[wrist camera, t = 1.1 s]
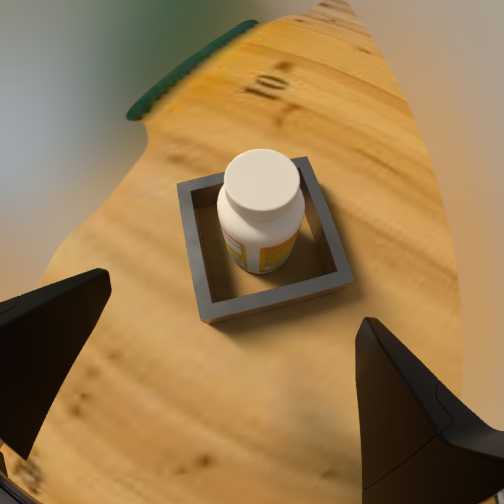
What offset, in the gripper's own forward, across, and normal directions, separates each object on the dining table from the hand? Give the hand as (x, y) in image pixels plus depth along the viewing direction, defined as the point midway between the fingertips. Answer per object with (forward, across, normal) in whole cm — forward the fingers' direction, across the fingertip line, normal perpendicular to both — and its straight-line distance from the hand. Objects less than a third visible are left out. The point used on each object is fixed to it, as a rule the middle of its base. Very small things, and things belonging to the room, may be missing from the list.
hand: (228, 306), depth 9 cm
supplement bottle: (+14, 0, +4) cm, 15 cm away
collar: (+14, 0, +4) cm, 15 cm away
